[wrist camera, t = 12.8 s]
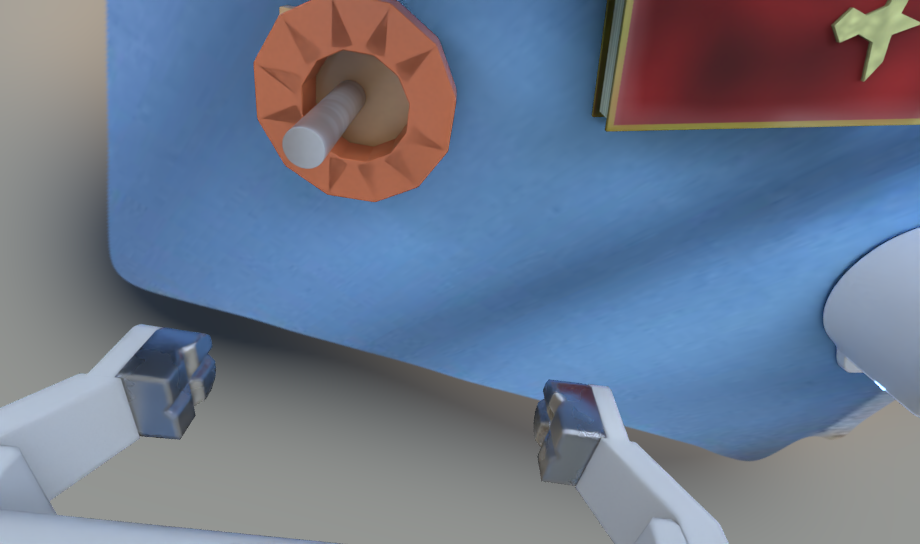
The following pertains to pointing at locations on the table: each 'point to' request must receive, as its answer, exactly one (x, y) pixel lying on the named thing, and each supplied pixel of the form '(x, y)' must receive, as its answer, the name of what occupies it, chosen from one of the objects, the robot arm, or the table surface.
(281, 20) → the ring
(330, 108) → the stand
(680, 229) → the table surface
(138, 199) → the table surface
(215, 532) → the robot arm
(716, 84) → the hardcover book
